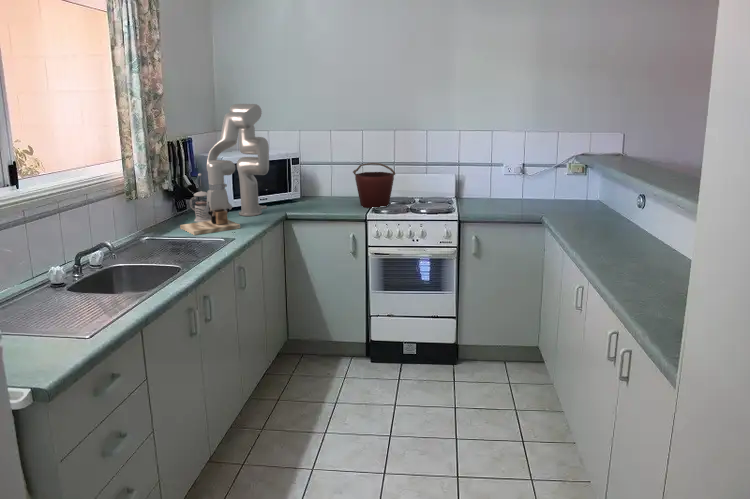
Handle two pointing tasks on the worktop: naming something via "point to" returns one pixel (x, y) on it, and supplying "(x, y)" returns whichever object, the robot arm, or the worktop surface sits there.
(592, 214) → the worktop surface
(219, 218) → the block
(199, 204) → the french press
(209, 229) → the plywood board
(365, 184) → the bucket
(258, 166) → the robot arm
